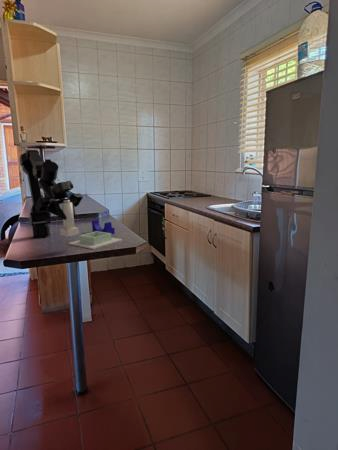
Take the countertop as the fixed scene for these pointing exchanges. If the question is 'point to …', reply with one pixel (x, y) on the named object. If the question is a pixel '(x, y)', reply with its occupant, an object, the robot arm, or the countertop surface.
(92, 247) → the end holder
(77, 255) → the countertop surface
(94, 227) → the cable clip
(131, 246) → the countertop surface
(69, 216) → the connector plug
